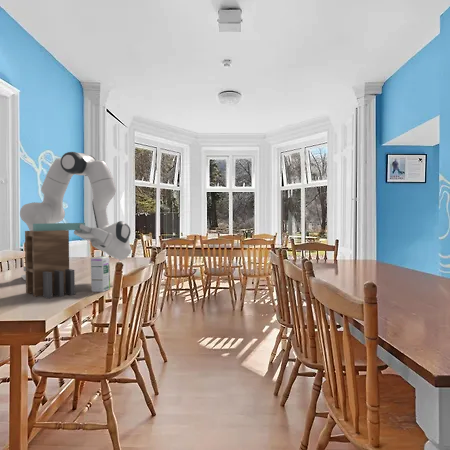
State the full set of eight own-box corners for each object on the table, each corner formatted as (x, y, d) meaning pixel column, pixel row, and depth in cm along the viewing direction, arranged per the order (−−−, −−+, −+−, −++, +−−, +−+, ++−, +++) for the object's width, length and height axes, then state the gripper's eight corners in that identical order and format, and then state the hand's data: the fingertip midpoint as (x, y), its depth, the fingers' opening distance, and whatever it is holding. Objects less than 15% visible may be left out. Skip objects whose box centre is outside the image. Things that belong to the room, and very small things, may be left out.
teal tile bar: (33, 230, 156) (33, 223, 156) (82, 229, 172) (82, 222, 172) (35, 231, 154) (35, 223, 154) (85, 229, 170) (85, 222, 169)
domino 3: (70, 294, 154) (70, 270, 154) (65, 293, 157) (65, 269, 157) (74, 294, 155) (74, 270, 155) (69, 292, 159) (69, 268, 158)
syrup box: (103, 292, 160) (103, 257, 159) (90, 291, 161) (90, 257, 160) (110, 289, 165) (109, 256, 165) (97, 289, 166) (97, 256, 166)
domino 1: (48, 298, 148) (47, 272, 147) (43, 296, 151) (42, 271, 151) (52, 297, 149) (51, 272, 148) (47, 296, 152) (46, 271, 152)
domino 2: (59, 296, 151) (59, 271, 151) (54, 294, 154) (54, 270, 154) (63, 296, 152) (63, 271, 152) (58, 294, 155) (58, 270, 155)
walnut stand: (26, 293, 158) (24, 230, 157) (59, 288, 168) (58, 229, 168) (35, 296, 151) (33, 231, 150) (69, 291, 161) (68, 230, 161)
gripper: (93, 233, 185) (68, 219, 176) (114, 234, 171) (89, 219, 162) (87, 244, 183) (61, 231, 174) (108, 246, 169) (82, 232, 160)
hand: (75, 225), depth 168 cm, fingers open, 7 cm apart
